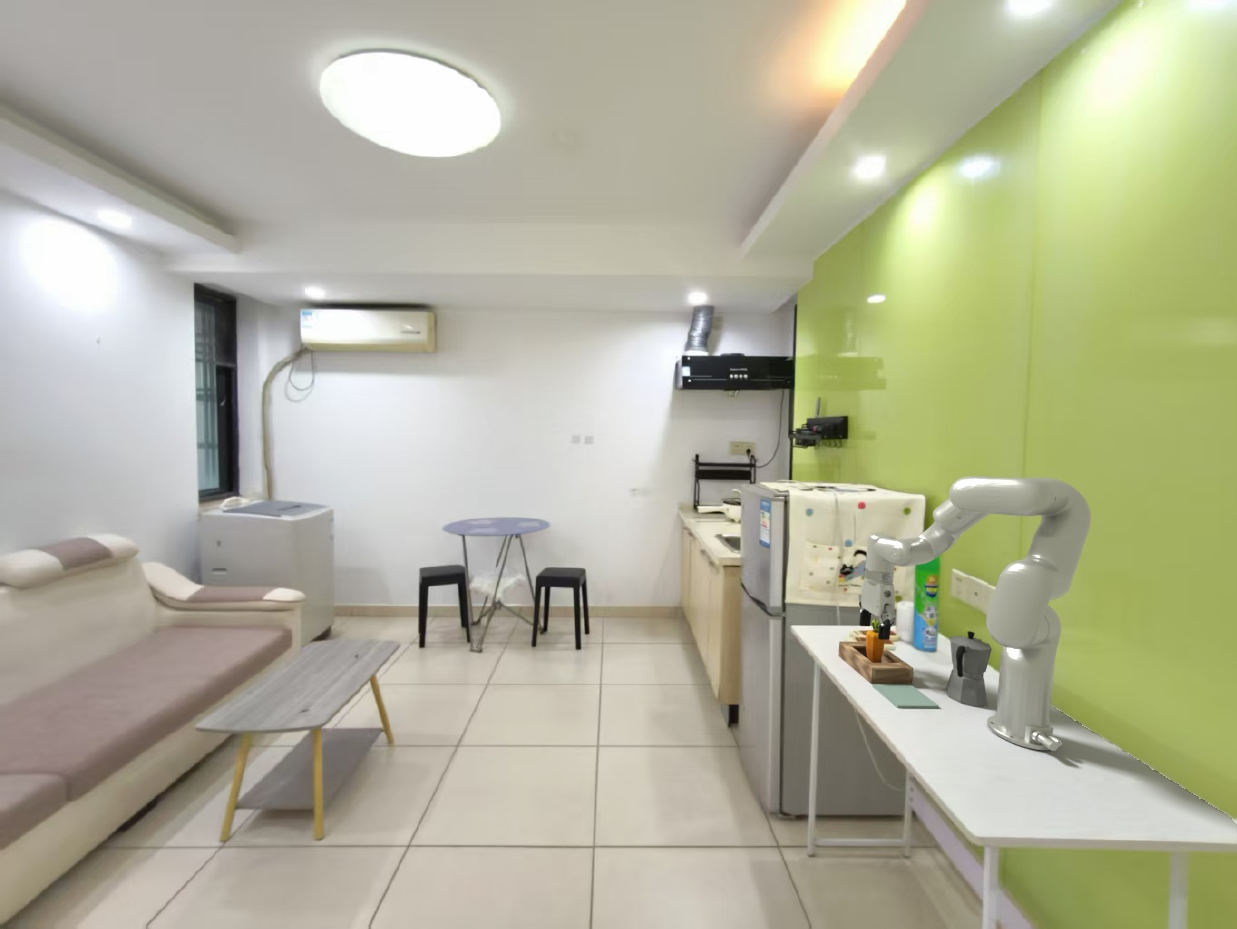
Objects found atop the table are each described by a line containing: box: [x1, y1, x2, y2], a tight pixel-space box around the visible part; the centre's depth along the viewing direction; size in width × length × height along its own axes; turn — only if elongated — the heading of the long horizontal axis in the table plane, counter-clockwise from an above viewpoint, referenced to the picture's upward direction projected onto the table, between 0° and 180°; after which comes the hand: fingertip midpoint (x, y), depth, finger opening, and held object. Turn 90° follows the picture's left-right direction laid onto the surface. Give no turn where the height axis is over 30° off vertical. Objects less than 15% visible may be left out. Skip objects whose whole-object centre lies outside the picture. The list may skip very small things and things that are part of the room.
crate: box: [837, 641, 914, 685], centre depth 148 cm, size 18×12×5 cm, turn 4°
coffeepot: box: [945, 630, 993, 708], centre depth 132 cm, size 15×9×18 cm, turn 129°
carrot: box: [865, 618, 886, 663], centre depth 148 cm, size 5×5×15 cm
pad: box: [871, 684, 940, 709], centre depth 132 cm, size 11×11×1 cm
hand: (873, 632), depth 148 cm, fingers open, 9 cm apart
